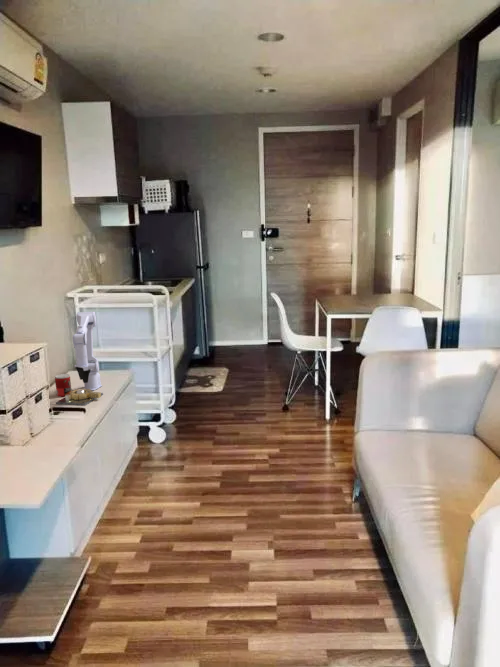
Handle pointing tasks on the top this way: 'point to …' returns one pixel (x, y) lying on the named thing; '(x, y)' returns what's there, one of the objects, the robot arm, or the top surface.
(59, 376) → the canned food
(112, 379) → the top surface
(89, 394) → the handled octagonal ring
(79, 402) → the flange plate
